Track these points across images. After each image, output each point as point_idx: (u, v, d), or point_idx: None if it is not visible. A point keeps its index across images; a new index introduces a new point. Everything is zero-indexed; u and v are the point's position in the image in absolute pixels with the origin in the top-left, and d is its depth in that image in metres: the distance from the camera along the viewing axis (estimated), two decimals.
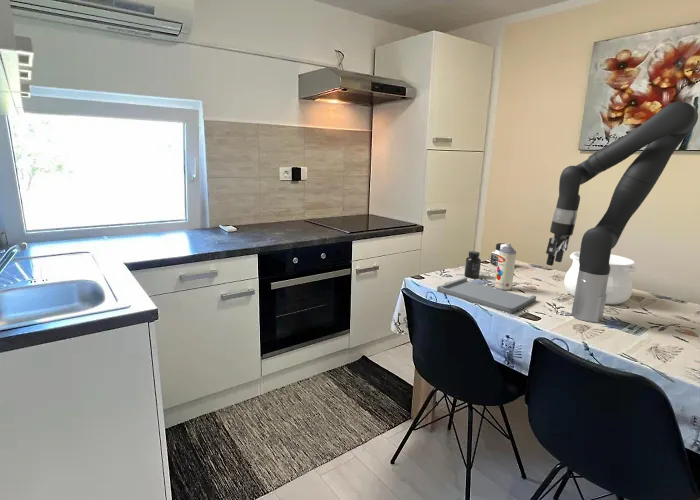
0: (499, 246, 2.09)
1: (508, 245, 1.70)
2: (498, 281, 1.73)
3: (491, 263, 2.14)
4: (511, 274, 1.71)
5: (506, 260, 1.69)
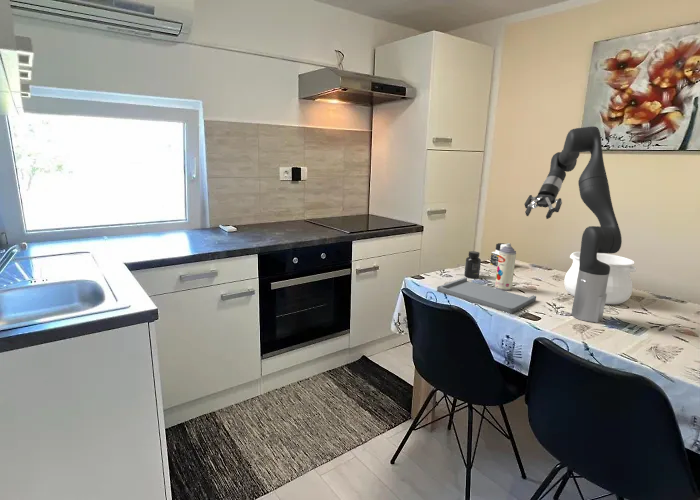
0: (499, 246, 2.09)
1: (508, 245, 1.70)
2: (498, 281, 1.73)
3: (491, 263, 2.14)
4: (511, 274, 1.71)
5: (506, 260, 1.69)
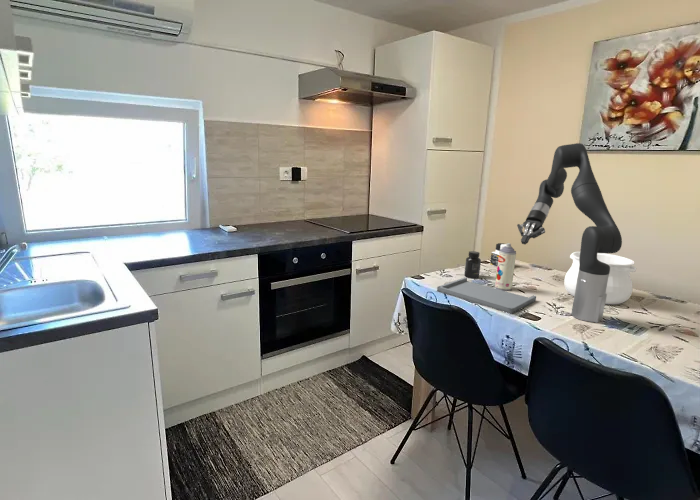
0: (499, 246, 2.09)
1: (508, 245, 1.70)
2: (498, 281, 1.73)
3: (491, 263, 2.14)
4: (511, 274, 1.71)
5: (506, 260, 1.69)
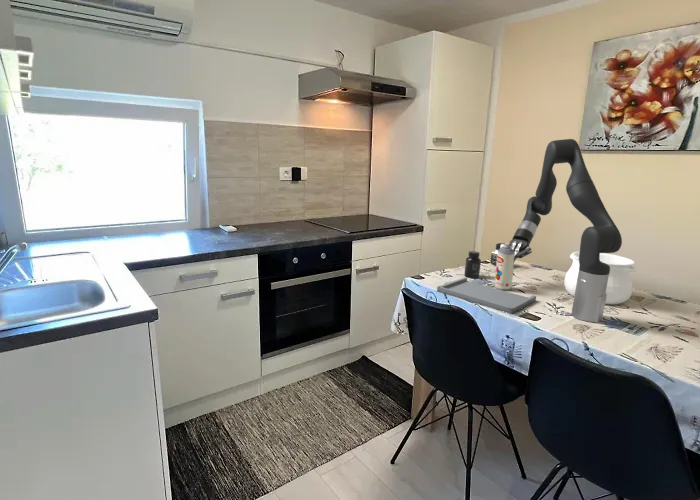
0: (499, 246, 2.09)
1: (506, 245, 1.69)
2: (497, 281, 1.73)
3: (491, 263, 2.14)
4: (510, 274, 1.70)
5: (504, 261, 1.68)
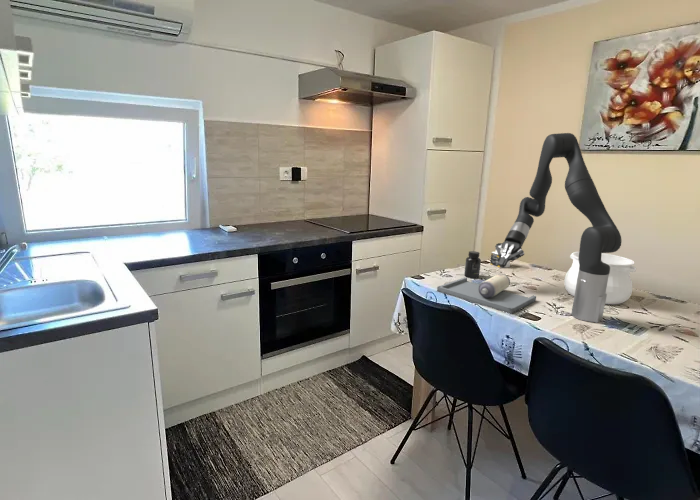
0: None
1: (484, 293, 1.57)
2: None
3: (491, 263, 2.14)
4: (502, 290, 1.65)
5: None
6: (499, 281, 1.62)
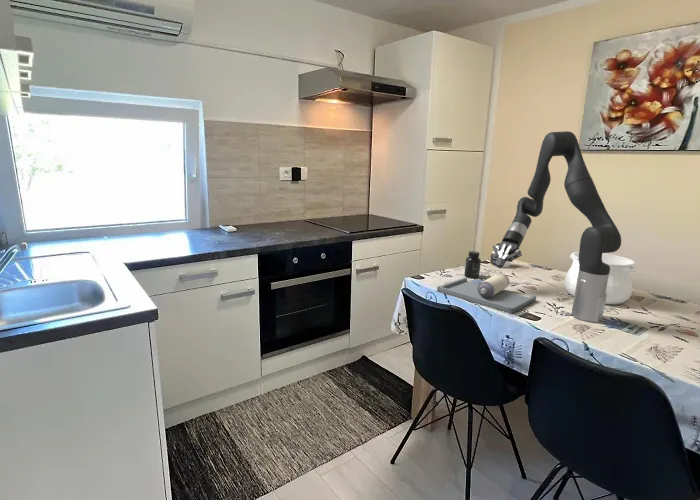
0: None
1: (483, 293, 1.57)
2: None
3: (491, 263, 2.14)
4: (502, 289, 1.65)
5: None
6: (497, 280, 1.63)
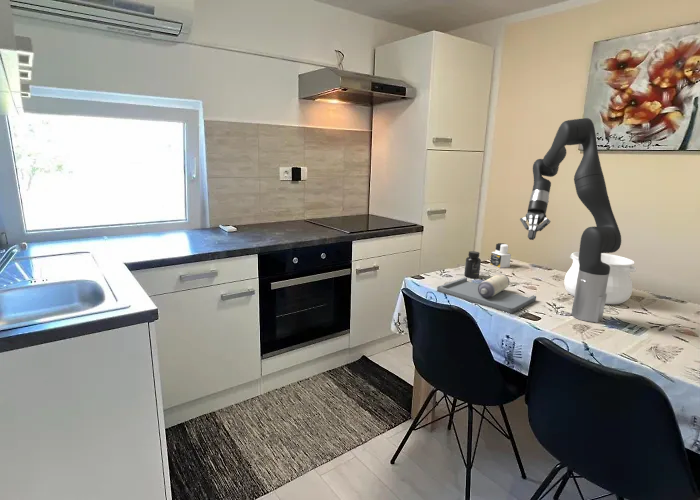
0: (499, 246, 2.09)
1: (483, 293, 1.57)
2: None
3: (491, 263, 2.14)
4: (502, 289, 1.65)
5: None
6: (498, 280, 1.63)
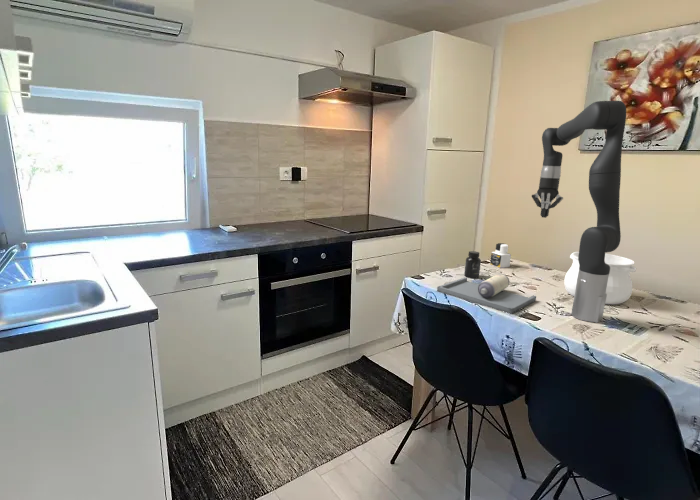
0: (499, 246, 2.09)
1: (483, 293, 1.57)
2: None
3: (491, 263, 2.14)
4: (502, 289, 1.65)
5: None
6: (498, 280, 1.63)
